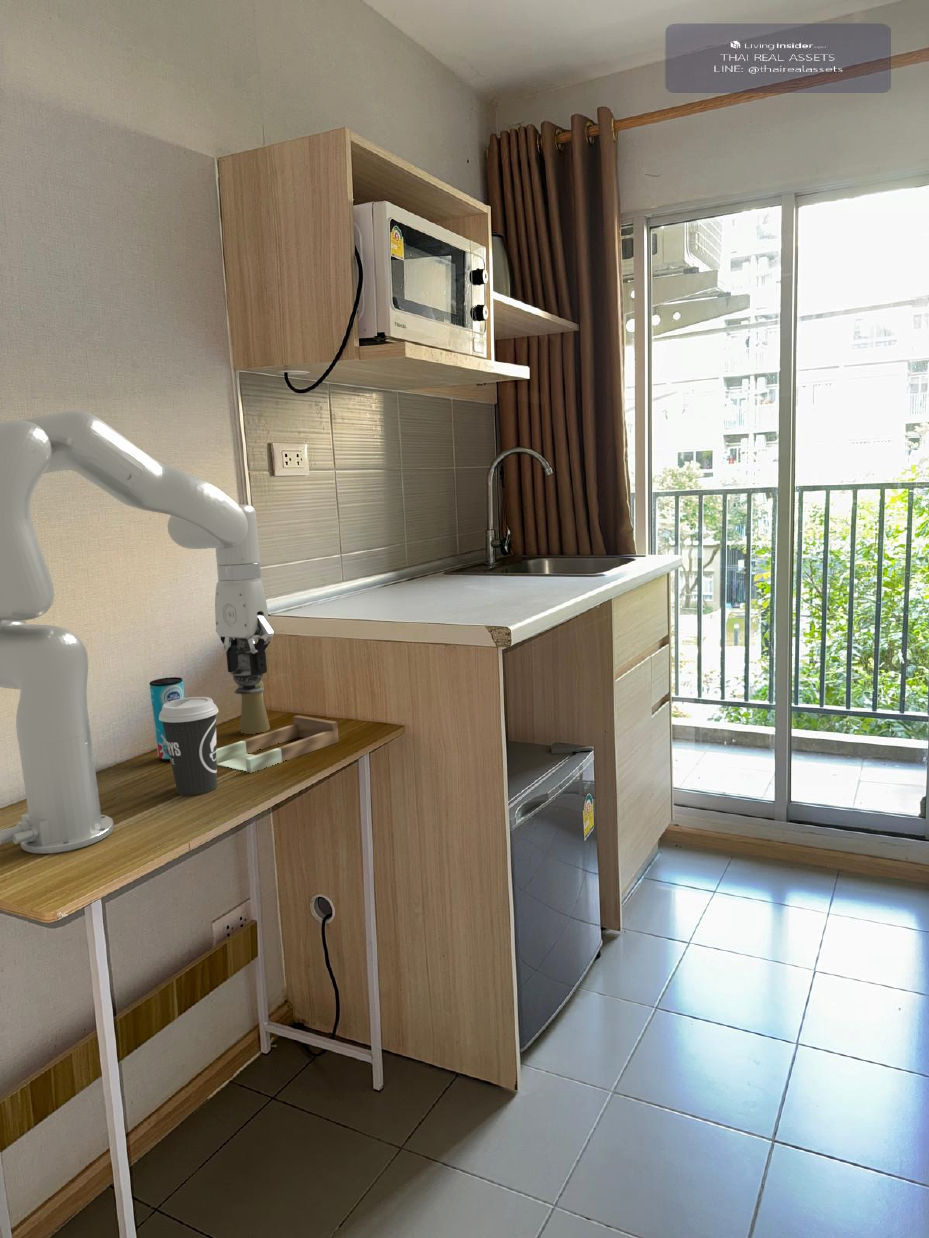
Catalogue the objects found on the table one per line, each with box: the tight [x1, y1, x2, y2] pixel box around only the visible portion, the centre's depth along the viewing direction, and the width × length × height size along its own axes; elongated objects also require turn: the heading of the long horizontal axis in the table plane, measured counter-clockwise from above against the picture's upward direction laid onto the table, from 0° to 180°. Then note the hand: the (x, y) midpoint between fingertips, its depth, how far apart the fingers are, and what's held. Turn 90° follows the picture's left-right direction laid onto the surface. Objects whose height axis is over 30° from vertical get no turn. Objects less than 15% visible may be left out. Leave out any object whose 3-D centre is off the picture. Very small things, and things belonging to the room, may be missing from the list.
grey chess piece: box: [230, 638, 265, 695], centre depth 159 cm, size 6×6×12 cm
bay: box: [216, 714, 340, 774], centre depth 166 cm, size 21×11×4 cm, turn 142°
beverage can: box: [149, 676, 186, 762], centre depth 166 cm, size 6×6×15 cm
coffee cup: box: [159, 696, 220, 797], centre depth 146 cm, size 10×10×15 cm
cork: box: [237, 679, 271, 735], centre depth 182 cm, size 6×6×11 cm
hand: (247, 671), depth 160 cm, fingers closed on grey chess piece, 5 cm apart
